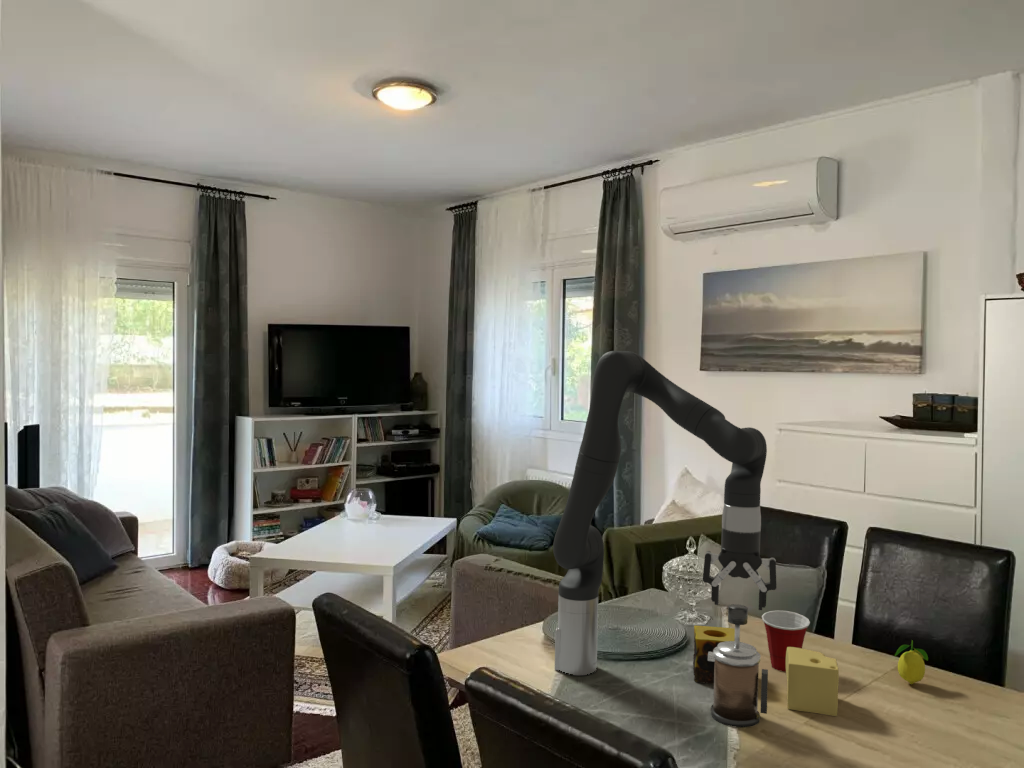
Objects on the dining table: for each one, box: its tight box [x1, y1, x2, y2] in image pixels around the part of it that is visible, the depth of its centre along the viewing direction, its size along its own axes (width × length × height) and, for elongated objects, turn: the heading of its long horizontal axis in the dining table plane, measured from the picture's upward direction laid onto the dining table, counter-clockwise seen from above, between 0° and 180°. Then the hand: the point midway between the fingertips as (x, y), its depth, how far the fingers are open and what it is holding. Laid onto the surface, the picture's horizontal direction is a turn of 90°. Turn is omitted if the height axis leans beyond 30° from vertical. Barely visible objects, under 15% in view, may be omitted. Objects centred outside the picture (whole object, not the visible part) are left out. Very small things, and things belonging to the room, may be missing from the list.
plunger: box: [717, 603, 757, 658], centre depth 159 cm, size 8×8×9 cm
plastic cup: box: [761, 610, 811, 673], centre depth 186 cm, size 11×11×12 cm
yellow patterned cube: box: [692, 624, 735, 685], centre depth 180 cm, size 10×10×10 cm
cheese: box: [785, 647, 840, 717], centre depth 166 cm, size 10×11×10 cm
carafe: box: [708, 647, 769, 728], centre depth 159 cm, size 12×10×13 cm
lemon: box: [894, 639, 929, 685], centre depth 178 cm, size 7×6×10 cm
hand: (738, 606), depth 159 cm, fingers open, 8 cm apart
